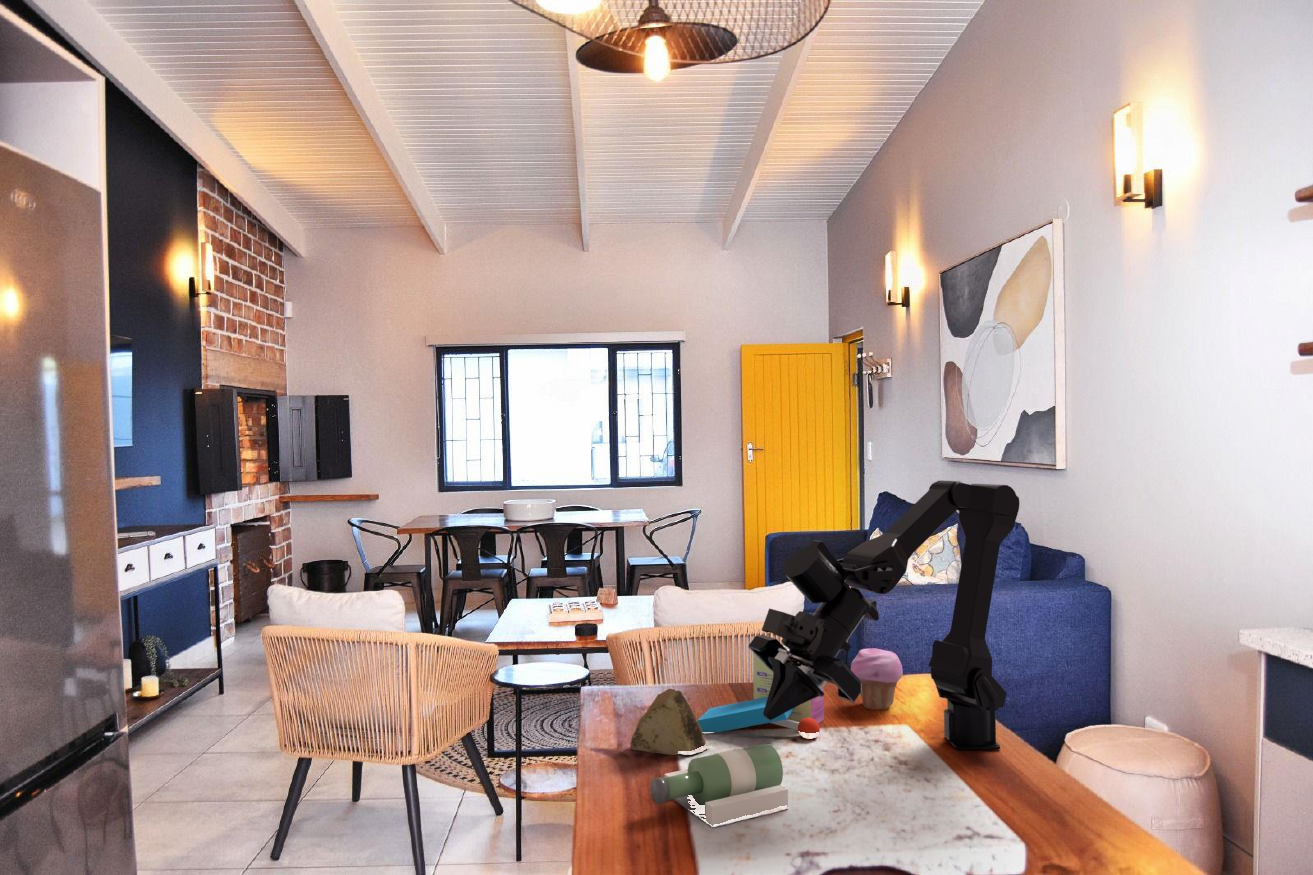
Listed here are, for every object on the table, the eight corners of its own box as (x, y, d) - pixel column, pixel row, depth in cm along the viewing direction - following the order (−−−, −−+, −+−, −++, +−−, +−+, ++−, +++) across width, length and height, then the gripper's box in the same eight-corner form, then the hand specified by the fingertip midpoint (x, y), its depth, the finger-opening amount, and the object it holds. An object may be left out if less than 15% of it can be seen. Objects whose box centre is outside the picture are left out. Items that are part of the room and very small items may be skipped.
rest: (735, 777, 121) (735, 759, 121) (788, 809, 110) (787, 789, 110) (664, 793, 116) (664, 773, 116) (712, 828, 105) (712, 807, 105)
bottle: (765, 733, 117) (651, 756, 110) (788, 767, 113) (671, 793, 105) (754, 764, 120) (641, 789, 112) (775, 798, 115) (660, 826, 108)
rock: (610, 738, 131) (657, 743, 124) (630, 684, 136) (677, 686, 129) (656, 767, 137) (703, 774, 130) (673, 714, 141) (721, 718, 134)
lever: (709, 764, 139) (818, 745, 133) (697, 720, 140) (804, 699, 134) (722, 750, 146) (826, 730, 139) (710, 708, 146) (813, 687, 140)
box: (825, 720, 145) (824, 648, 145) (812, 730, 141) (810, 655, 141) (768, 710, 151) (766, 641, 151) (753, 720, 146) (752, 648, 146)
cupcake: (849, 698, 157) (848, 642, 157) (899, 699, 156) (898, 643, 156) (853, 713, 148) (852, 654, 149) (906, 715, 147) (905, 655, 147)
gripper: (758, 578, 127) (693, 664, 122) (842, 597, 110) (770, 698, 105) (804, 626, 131) (742, 713, 125) (891, 652, 114) (824, 752, 109)
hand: (766, 717), depth 116 cm, fingers closed
